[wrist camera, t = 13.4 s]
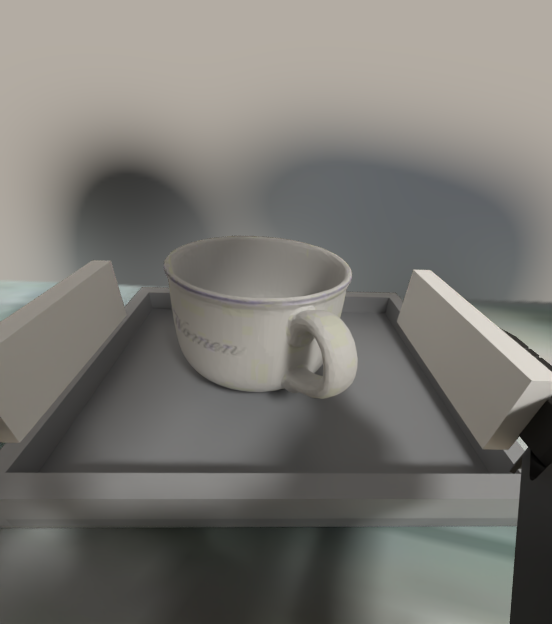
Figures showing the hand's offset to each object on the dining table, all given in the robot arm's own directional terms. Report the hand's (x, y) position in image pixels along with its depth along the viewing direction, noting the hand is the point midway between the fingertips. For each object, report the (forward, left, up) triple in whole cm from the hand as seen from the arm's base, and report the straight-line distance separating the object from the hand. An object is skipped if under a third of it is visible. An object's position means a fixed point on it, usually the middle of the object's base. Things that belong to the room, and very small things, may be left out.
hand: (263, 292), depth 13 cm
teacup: (0, -3, -8) cm, 9 cm away
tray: (0, -3, -9) cm, 9 cm away
